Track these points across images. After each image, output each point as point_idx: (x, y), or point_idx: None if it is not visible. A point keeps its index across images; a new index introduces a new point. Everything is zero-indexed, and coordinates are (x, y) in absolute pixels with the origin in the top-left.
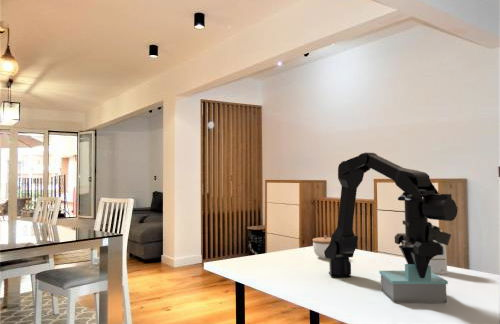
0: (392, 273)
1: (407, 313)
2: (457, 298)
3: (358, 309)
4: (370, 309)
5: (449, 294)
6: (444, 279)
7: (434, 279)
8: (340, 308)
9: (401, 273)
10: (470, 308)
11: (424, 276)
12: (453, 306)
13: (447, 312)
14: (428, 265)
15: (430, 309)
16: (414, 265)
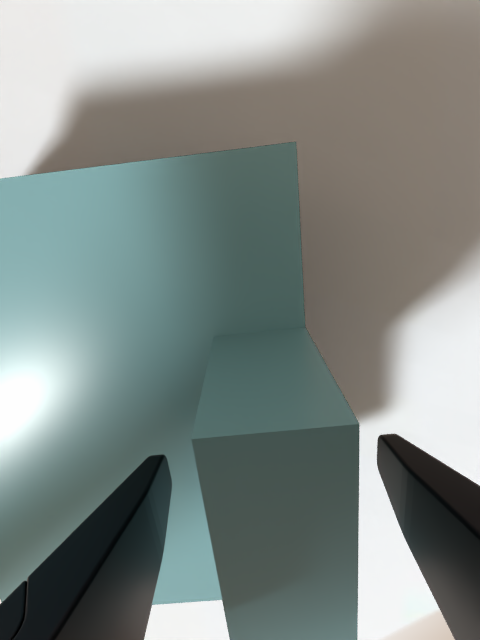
0: None
1: (443, 441)
2: (146, 50)
3: (381, 592)
4: (382, 558)
5: (49, 79)
6: (223, 154)
7: (237, 275)
8: (368, 637)
9: (53, 499)
10: (379, 44)
11: (409, 446)
12: (337, 161)
13: (446, 243)
14: (315, 447)
15: (391, 322)
16: (319, 613)
